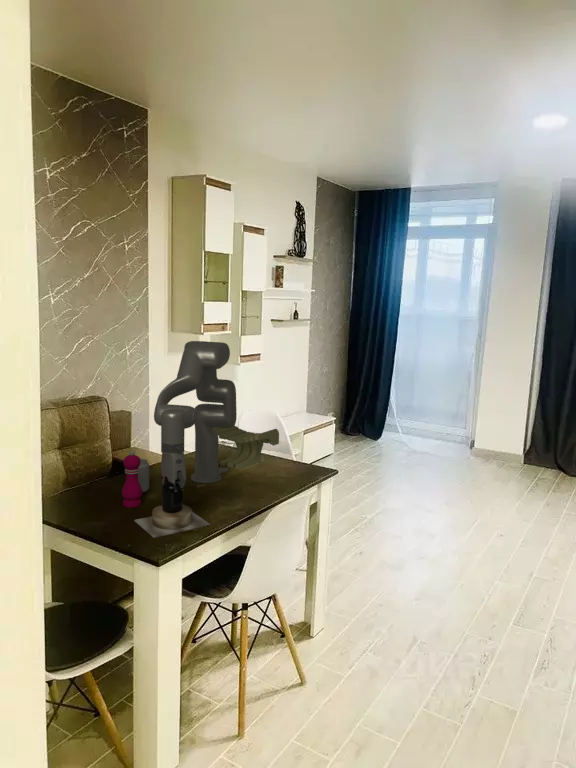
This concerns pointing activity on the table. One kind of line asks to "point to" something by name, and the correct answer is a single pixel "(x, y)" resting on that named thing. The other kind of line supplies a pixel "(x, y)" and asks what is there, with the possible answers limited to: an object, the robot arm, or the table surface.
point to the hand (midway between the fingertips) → (172, 498)
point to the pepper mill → (132, 481)
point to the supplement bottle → (169, 498)
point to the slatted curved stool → (246, 445)
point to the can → (144, 475)
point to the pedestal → (170, 522)
